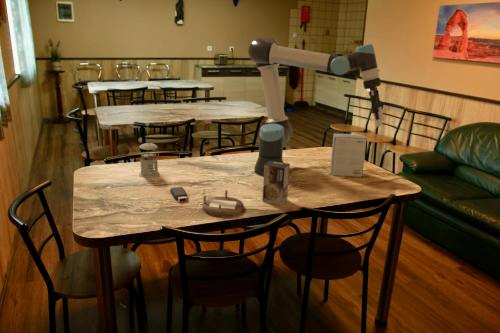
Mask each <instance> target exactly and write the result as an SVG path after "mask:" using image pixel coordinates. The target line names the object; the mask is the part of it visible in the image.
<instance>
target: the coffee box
mask: <svg viewBox="0 0 500 333" xmlns="http://www.w3.org/2000/svg"><path fill="white" fill-rule="evenodd" d="M290 169H291V168H290V163H287V162H283V163H281V162H275V161H269V162H267V163H266V164H265V165H264V176H263V186H262V187H263V189H262V202H266V203H270V204H276V205H280V206H283V205H285V203H286V202H288V196H289V195H288V194H289V182H290V181H289V180H290Z"/></svg>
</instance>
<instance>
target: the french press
mask: <svg viewBox="0 0 500 333" xmlns="http://www.w3.org/2000/svg"><path fill="white" fill-rule="evenodd" d="M150 125H151V124H150V123H149V122H146V123H145V126H146V127H147V130H146V131H147V133H149V127H148V126H150ZM139 149H141V150H144V151H145V150H146V151H147V152H143V153H141V154H140V158H139V159H140V160H139V161H140V172H139V173H138V175H139V177H141V178H144V179H145V178H146V179H150V178H157V177H159V176H161V173H160V171H159V170H158V159H159V156H160V154H159V150H158V145H157V144H155V143H152V142H145V143H142V144H141V145H139ZM150 150H151V151H154V152H149V151H150ZM156 150H157V153H156Z"/></svg>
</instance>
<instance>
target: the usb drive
mask: <svg viewBox="0 0 500 333" xmlns="http://www.w3.org/2000/svg"><path fill="white" fill-rule="evenodd" d="M170 194H171V195H172V197H173V199H174V200H175V201H178V203H184V202H185V203H186V202H188V193H187V192H186V191H185V189H184V188H183V187H182V186H175V187H170Z"/></svg>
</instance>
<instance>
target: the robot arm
mask: <svg viewBox="0 0 500 333" xmlns="http://www.w3.org/2000/svg"><path fill="white" fill-rule="evenodd" d="M375 53H376V52H375V49H374V45H373V43H368V44H364V45H361V46H360V45H359V46H357V47H356V48H355V52H352V53H347V54H344V55H335V54H330V53H323V52H317V51H312V50H307V49H306V50H305V49H298V48H295V47H294V48H292V47H287V46H281V45H280V44H279V42H278V41H277V40H276V39H274V38H271V37H257V38H254V39H253V40H252V41H251V42H250V43H249V45H248V48H247V54H248V57H249V58H250V60H252V62H254V63H255V65H256V69H258V70H259V71H260V76H261V81H262V82H261V83H262V86H263V87H262V88H263V95H264V101H265V107H266V112H267V120H266V121H265V124H263V125H262V126H261V127H260V130H259V140H258V141H259V142H258V158H257V160H256V163H255V165H254V174H256V175H258V176H261V177H264V165H265V164H266V163H267V162H269V161H275V162H281V163H284V159H283V150H284V146H285V145H286V144H287V143H289V142H290V140H291V139H292V136H293V131H294V130H293V127H292V125H291V124H290V119H289V117H288V116H286V114H285V109H284V102H283V101H284V100H283V96H282V95H283V94H282V89H281V88H282V87H281V82H280V76H279V69H278V68H279V66H280V64H282V65H285V66H286V65H287V66H293V67H298V68H303V69H304V68H305V69H308V70H309V69H310V70H316V71H321V72H327V73H331V74H332V73H333V74H335V75H337V76H338V75H339V76H342V75H345V74H346V73H348V72H350V71H354V70H358V69H360V75H361V80H362V81H363V82H362V85H363V88H364V90H368V89H369V92H368V94H369V98H370V103H371V104H370V105H371V112H370V113H371V114H373V118H374V123H375V127H376V128H377V127H378V128H379V127H383V121H385V119H384V114H383V109H382V107H383V104H382V103H381V100H380V92H379V89H378V87H379V86H381V85H382V83H381V78H380V74H379V72H380V69H379V67H378V62H377V57H376V54H375Z"/></svg>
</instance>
